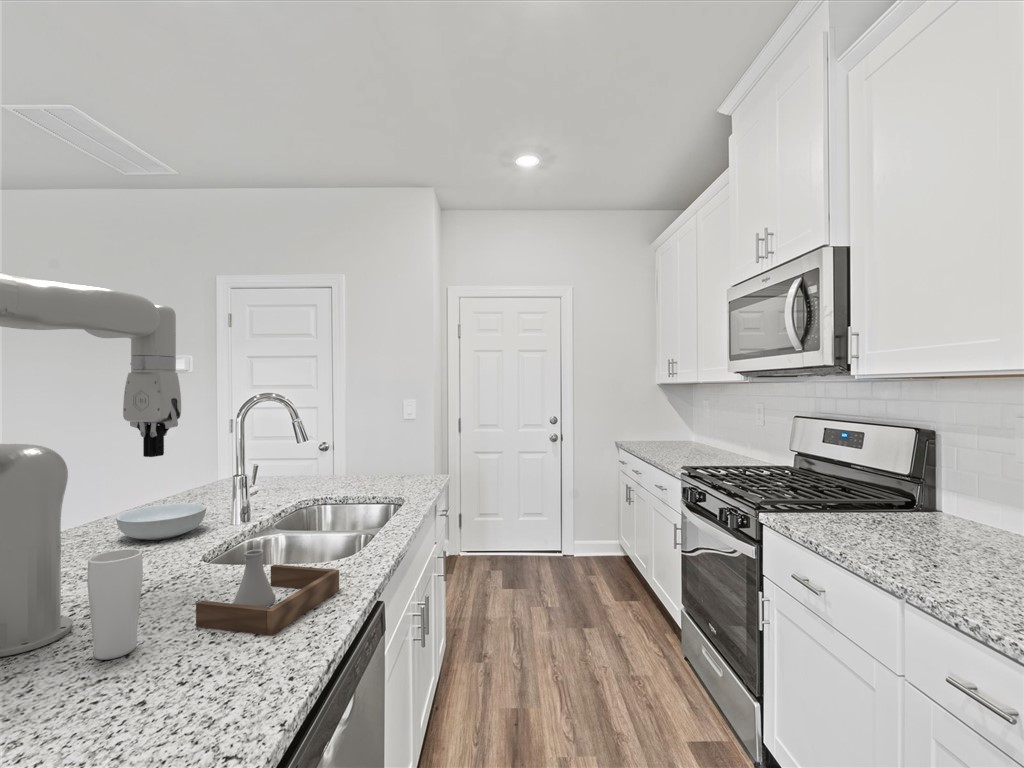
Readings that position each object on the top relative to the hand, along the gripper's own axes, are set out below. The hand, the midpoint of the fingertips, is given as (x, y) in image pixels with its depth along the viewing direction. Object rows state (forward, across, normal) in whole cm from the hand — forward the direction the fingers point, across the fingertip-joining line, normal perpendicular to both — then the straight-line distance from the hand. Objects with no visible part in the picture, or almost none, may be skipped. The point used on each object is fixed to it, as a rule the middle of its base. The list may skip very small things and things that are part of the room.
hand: (153, 455), depth 105 cm
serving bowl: (+27, -33, +33) cm, 54 cm away
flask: (+27, +25, -2) cm, 37 cm away
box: (+27, +29, -2) cm, 40 cm away
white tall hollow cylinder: (+27, +17, -22) cm, 39 cm away
